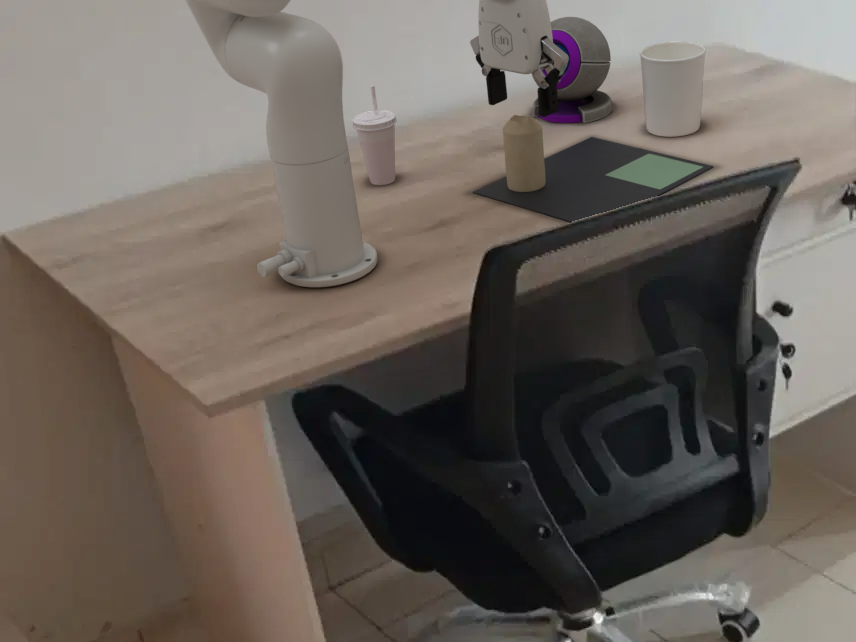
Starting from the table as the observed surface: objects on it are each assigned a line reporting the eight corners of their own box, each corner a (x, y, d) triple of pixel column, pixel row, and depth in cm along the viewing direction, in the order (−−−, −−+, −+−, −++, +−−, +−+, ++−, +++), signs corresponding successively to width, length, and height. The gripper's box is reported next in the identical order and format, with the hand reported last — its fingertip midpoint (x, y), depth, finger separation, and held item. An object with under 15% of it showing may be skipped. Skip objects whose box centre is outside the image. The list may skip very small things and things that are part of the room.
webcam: (518, 119, 202) (511, 26, 194) (557, 95, 211) (552, 4, 203) (589, 128, 196) (585, 31, 188) (626, 102, 205) (623, 9, 197)
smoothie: (413, 177, 184) (401, 84, 177) (381, 191, 181) (367, 97, 173) (384, 169, 188) (371, 77, 181) (352, 183, 185) (337, 90, 177)
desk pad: (594, 229, 163) (594, 228, 163) (472, 192, 177) (472, 191, 177) (713, 167, 178) (713, 165, 178) (591, 137, 192) (591, 136, 192)
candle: (552, 180, 178) (548, 112, 173) (533, 194, 174) (528, 125, 169) (520, 175, 181) (515, 108, 176) (500, 189, 177) (494, 121, 172)
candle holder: (703, 138, 188) (703, 59, 182) (638, 139, 190) (636, 60, 184) (707, 116, 196) (707, 40, 190) (644, 117, 198) (643, 41, 192)
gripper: (445, -19, 166) (460, 106, 175) (540, -5, 155) (551, 127, 164) (485, -33, 170) (497, 90, 179) (580, -20, 159) (588, 110, 169)
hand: (523, 107), depth 172 cm, fingers open, 9 cm apart
